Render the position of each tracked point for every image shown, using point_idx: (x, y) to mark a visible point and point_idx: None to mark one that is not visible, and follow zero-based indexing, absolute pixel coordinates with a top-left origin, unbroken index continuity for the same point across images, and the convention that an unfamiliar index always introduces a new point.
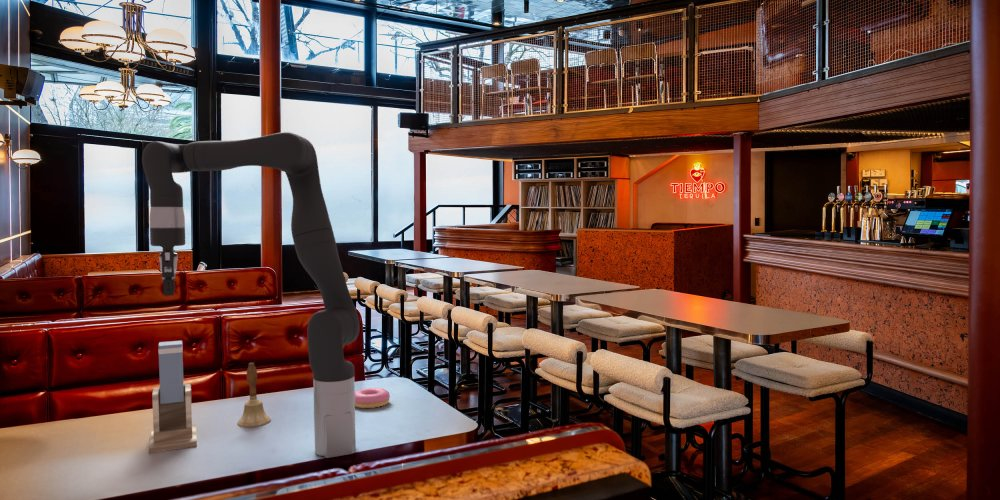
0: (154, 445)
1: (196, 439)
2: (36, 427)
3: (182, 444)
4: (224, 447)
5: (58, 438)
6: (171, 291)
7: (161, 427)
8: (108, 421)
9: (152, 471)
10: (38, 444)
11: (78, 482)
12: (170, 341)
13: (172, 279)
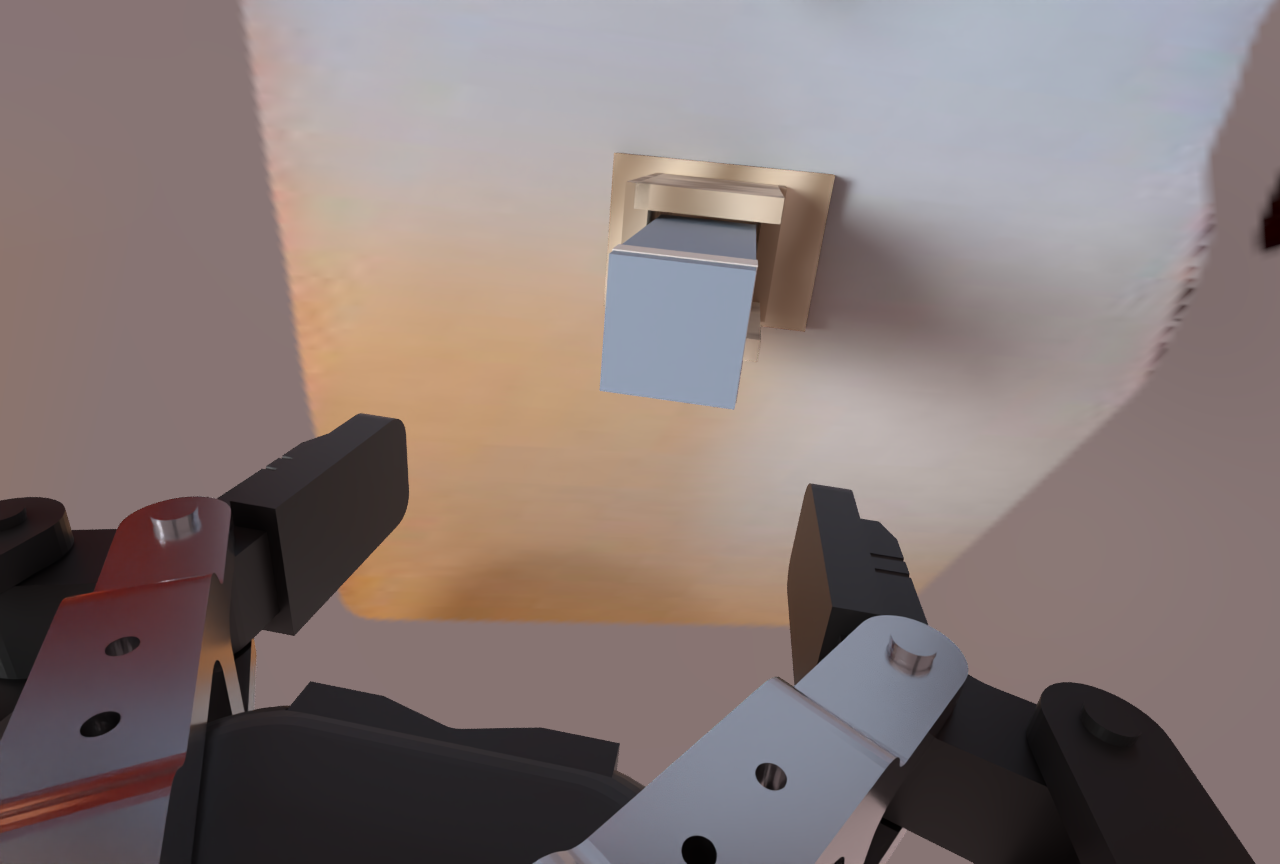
0: (789, 313)
1: (815, 173)
2: (367, 568)
3: (824, 225)
4: (921, 75)
5: (501, 529)
6: (893, 542)
7: None
8: (386, 408)
9: (996, 333)
10: (532, 568)
11: (934, 505)
12: (606, 327)
13: (837, 626)
